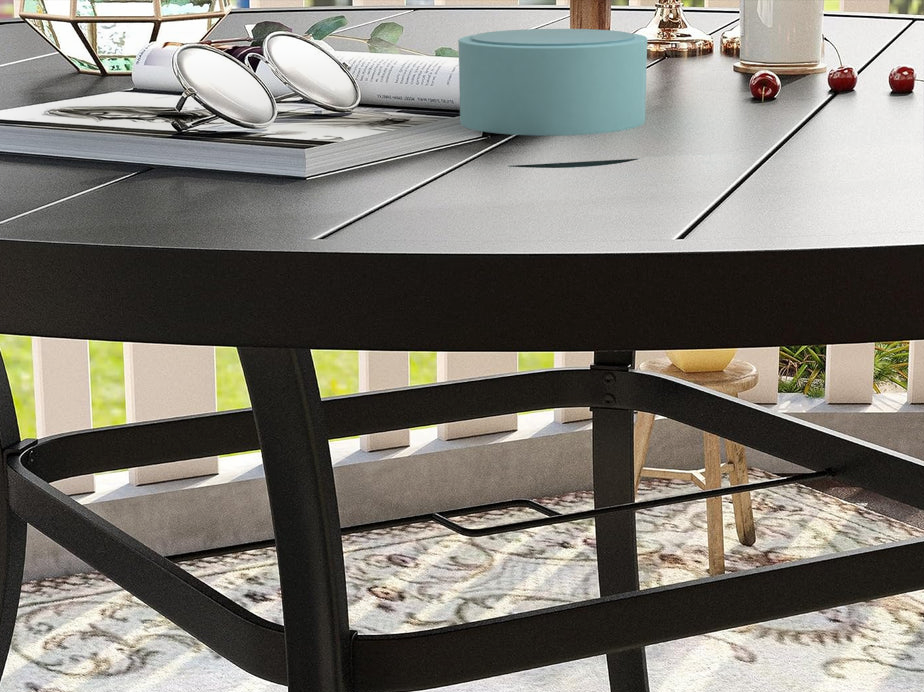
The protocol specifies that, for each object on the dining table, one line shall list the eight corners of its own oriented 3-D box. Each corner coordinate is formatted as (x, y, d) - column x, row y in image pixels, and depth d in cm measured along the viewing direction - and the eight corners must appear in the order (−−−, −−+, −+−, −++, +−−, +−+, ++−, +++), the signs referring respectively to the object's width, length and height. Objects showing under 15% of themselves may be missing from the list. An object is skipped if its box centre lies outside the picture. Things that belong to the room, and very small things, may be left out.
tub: (476, 173, 84) (474, 49, 82) (433, 140, 96) (430, 30, 93) (682, 161, 87) (687, 41, 84) (616, 130, 99) (619, 24, 96)
